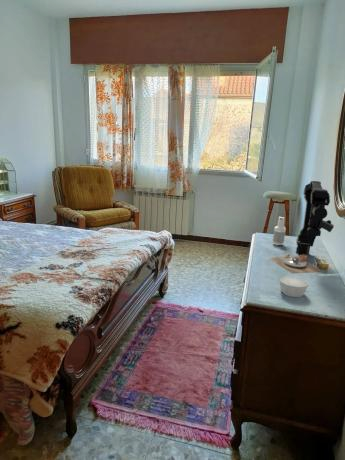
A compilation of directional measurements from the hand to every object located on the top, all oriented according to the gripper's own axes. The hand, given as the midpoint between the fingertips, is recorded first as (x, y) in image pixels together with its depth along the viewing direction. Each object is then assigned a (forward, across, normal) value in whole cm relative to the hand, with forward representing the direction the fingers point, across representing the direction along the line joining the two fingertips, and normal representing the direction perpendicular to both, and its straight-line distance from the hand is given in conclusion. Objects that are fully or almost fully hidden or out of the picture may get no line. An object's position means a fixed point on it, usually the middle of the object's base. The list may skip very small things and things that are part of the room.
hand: (311, 244), depth 163 cm
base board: (+13, 0, +6) cm, 14 cm away
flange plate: (+12, +1, +6) cm, 13 cm away
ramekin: (+13, -34, +5) cm, 37 cm away
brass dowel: (+12, +6, +11) cm, 17 cm away
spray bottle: (+13, +36, +19) cm, 43 cm away
